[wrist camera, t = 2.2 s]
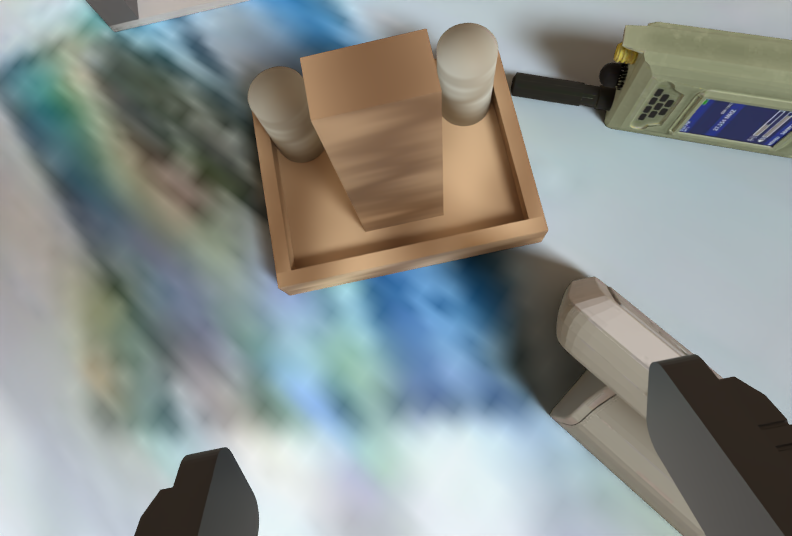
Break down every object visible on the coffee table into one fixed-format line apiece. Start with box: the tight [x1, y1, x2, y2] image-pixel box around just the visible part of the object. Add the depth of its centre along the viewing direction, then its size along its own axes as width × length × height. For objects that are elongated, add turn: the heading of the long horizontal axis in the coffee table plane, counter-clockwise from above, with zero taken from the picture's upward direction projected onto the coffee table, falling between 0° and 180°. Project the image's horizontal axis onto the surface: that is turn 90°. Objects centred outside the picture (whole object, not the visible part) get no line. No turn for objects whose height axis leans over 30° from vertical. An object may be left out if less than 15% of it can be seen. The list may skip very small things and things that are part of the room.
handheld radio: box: [511, 22, 792, 158], centre depth 28 cm, size 7×3×25 cm
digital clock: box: [550, 277, 723, 536], centre depth 23 cm, size 16×9×11 cm, turn 35°
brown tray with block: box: [248, 23, 548, 295], centre depth 26 cm, size 14×11×14 cm
